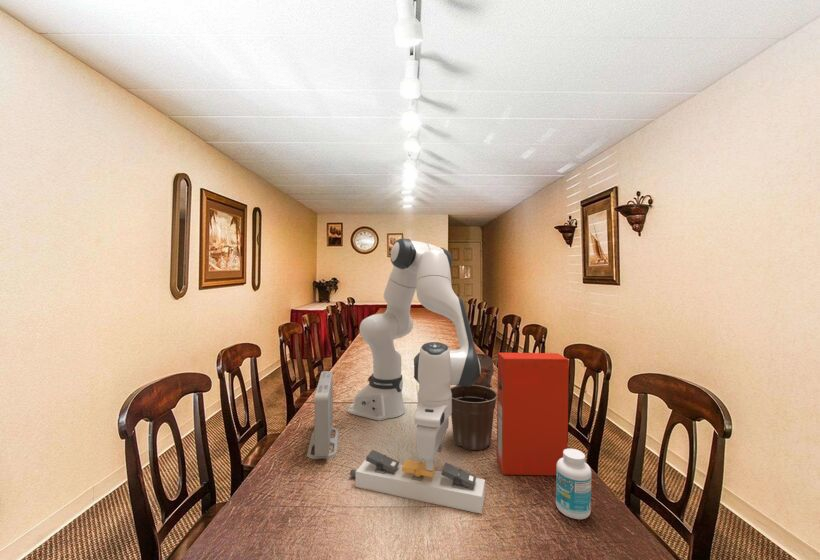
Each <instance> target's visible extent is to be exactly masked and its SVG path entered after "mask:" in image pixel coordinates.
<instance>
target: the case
mask: <svg viewBox="0 0 820 560" xmlns="http://www.w3.org/2000/svg"><path fill="white" fill-rule="evenodd" d="M477 356H478V359H479V362H480V366H481V373H480V378H479V379H478V381H477V382H476V383H474V384H473V385H479V386H484V387H488V388H490V389H492V386H493V385H491V383H492V379H493V376H494V360H493V359H492V358H491V357H490V356H489V355H487V354H485V353H477ZM456 386H458V385H456Z"/></svg>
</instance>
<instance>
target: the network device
mask: <svg viewBox="0 0 820 560" xmlns="http://www.w3.org/2000/svg"><path fill="white" fill-rule="evenodd" d="M333 374H334V373H333V370H329V371H328V370H327V371H325V370H323V371H321V373H320V376H319V380H318V383H317V385H316V390H315V394H314V430H313V431H312V433H311V437H310V441H309V445H308V450H307V453H306V454H307V457H308V458H309V459H312V460H319V459H330V458H333V457H335V456H336V455H338V454H337V453H338V447H339V446H338V445H339V433H340V432H339V430H340V429H338V428H335V427H333V419H334V415H333V414H334V413H333V411H334V404H333V401H334V397H333V396H334V394H333V393H334V391H333V390H334V388H333V387H334V386H333V385H334V379H333V377H334V375H333ZM332 432H335V435H334V437H332ZM330 446H333V452H331V453H330ZM313 448H314V454H312V451H313Z"/></svg>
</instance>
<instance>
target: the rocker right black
mask: <svg viewBox="0 0 820 560" xmlns="http://www.w3.org/2000/svg"><path fill="white" fill-rule="evenodd" d="M441 471H442V474H441V475H443V476H445V477H447V478H449V479H452V480H453V482H454V483H455V484H456V485H460V484H463V485H465V486H467V487H469V488H471V489H473V488H474V485H475V481H476V478H477V476H476V475H474V474H473V473H470V472H469V471H468V472H467V471H466V470H464V469H462V468H460V467H456V466H454V465H452V464H450V463H448V462H444V465H443V467H442V470H441Z"/></svg>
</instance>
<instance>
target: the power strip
mask: <svg viewBox="0 0 820 560" xmlns="http://www.w3.org/2000/svg"><path fill="white" fill-rule="evenodd" d="M403 464H404V463H403ZM403 464H402V463H399V466H398V468H397V469H396V471H395V472H394V474H393V473H391V472H389V471H387V470H385V469H382V470H379V469H377V467H376V465H374V464H372V463H370V462H368V461H366V459H365V460H364V461H363V462H362V463H361V464H360V465H359V467H358V468H357V469H351V470H350V472H349V476H350V477H355V488H359V489H362V490H363V489H364V490H369V491H372V492H378V493H381V494H382V493H383V494H386V495H392V496H396V497H402V498H404V499H405V498H406V499H410V500H416V501H418V502H419V501H420V502H425V503H428V504H434V505H439V506H443V507H448V508H451V509H452V508H453V509H456V510H463V511H468V512H471V513H476V514H481V515H482V513H483V508H484V503H485V496H486V479H484V478H479V477H476V481H475V485H474V488H473V489H471V488H469V487H467V486H465V485H463V484H460V485H456V484H455V483H454V482H453V480H452V479H449V478H447V477H445V476H443V475H441V474H442V470H441V471H440V470H436V471H435V473H434V476H433V477H429V476H424V475H421V476H420V477H416V476H414V474H412V473H407V472H402V466H403Z"/></svg>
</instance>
